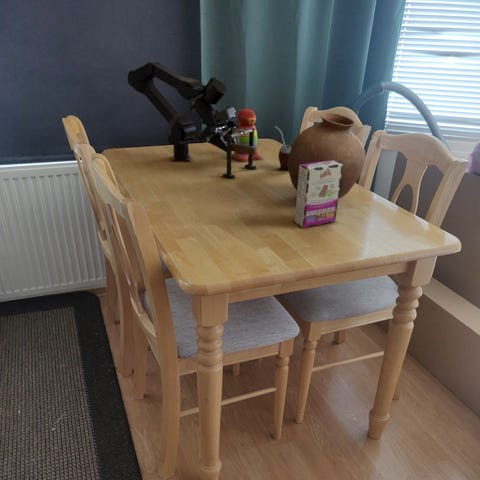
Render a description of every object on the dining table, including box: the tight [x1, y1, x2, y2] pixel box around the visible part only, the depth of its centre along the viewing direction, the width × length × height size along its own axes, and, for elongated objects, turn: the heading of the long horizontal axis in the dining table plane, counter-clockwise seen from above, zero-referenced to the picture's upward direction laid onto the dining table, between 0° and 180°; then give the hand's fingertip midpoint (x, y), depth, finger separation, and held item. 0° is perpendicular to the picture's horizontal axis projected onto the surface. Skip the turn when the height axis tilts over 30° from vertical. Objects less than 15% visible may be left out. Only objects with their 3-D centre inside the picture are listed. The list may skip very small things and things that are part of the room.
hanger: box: [226, 129, 258, 155], centre depth 166 cm, size 12×2×8 cm, turn 57°
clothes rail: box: [222, 128, 257, 180], centre depth 169 cm, size 4×16×14 cm, turn 146°
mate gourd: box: [274, 125, 292, 171], centre depth 174 cm, size 8×8×15 cm
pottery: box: [287, 112, 366, 200], centre depth 146 cm, size 23×23×25 cm
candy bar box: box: [294, 160, 343, 229], centre depth 132 cm, size 11×5×16 cm, turn 117°
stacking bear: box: [233, 108, 263, 162], centre depth 185 cm, size 11×10×18 cm
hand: (233, 151), depth 170 cm, fingers open, 5 cm apart
